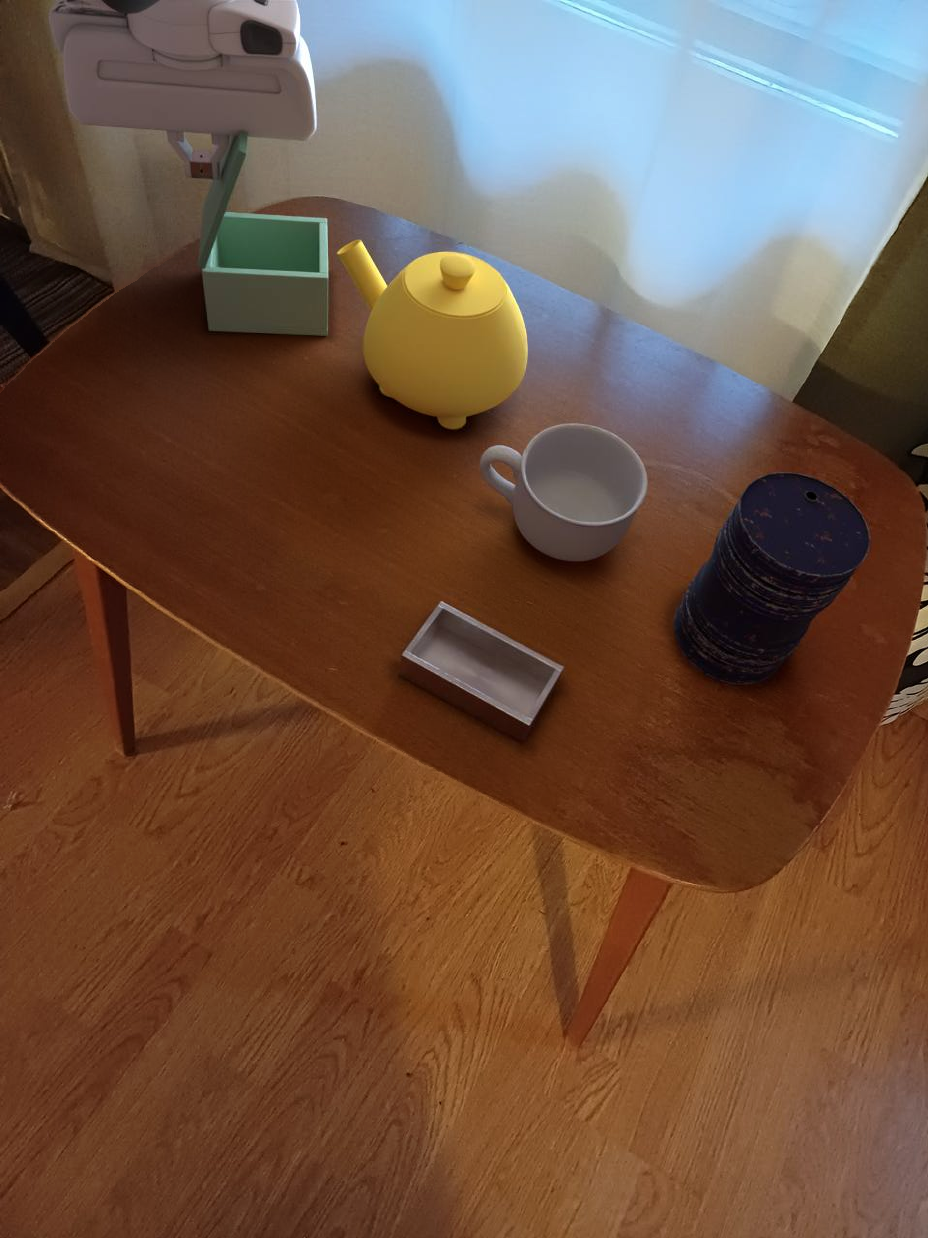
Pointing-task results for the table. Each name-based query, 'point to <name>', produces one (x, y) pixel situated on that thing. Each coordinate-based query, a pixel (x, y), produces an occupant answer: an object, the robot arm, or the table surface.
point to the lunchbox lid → (221, 194)
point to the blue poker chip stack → (769, 576)
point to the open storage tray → (480, 671)
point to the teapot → (441, 333)
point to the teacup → (571, 489)
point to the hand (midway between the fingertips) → (203, 175)
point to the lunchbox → (268, 275)
